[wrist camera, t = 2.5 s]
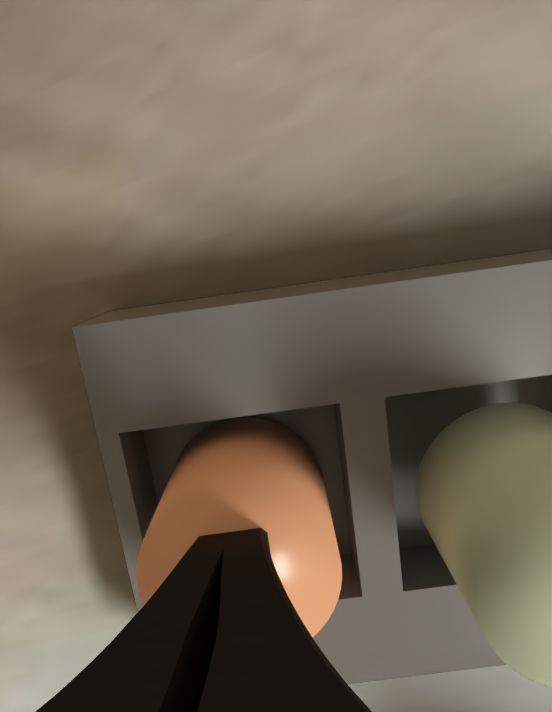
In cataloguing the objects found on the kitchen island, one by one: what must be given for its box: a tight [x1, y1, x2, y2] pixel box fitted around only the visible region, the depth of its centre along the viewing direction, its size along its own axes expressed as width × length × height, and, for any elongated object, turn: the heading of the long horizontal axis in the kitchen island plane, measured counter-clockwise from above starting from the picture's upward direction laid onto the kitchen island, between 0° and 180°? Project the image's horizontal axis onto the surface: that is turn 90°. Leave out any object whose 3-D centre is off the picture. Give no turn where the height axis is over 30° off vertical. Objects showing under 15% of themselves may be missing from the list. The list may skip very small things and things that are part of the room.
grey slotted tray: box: [72, 249, 552, 684], centre depth 13 cm, size 18×10×2 cm, turn 98°
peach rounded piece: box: [136, 417, 342, 638], centre depth 12 cm, size 4×4×4 cm
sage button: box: [416, 403, 552, 687], centre depth 10 cm, size 4×4×4 cm
